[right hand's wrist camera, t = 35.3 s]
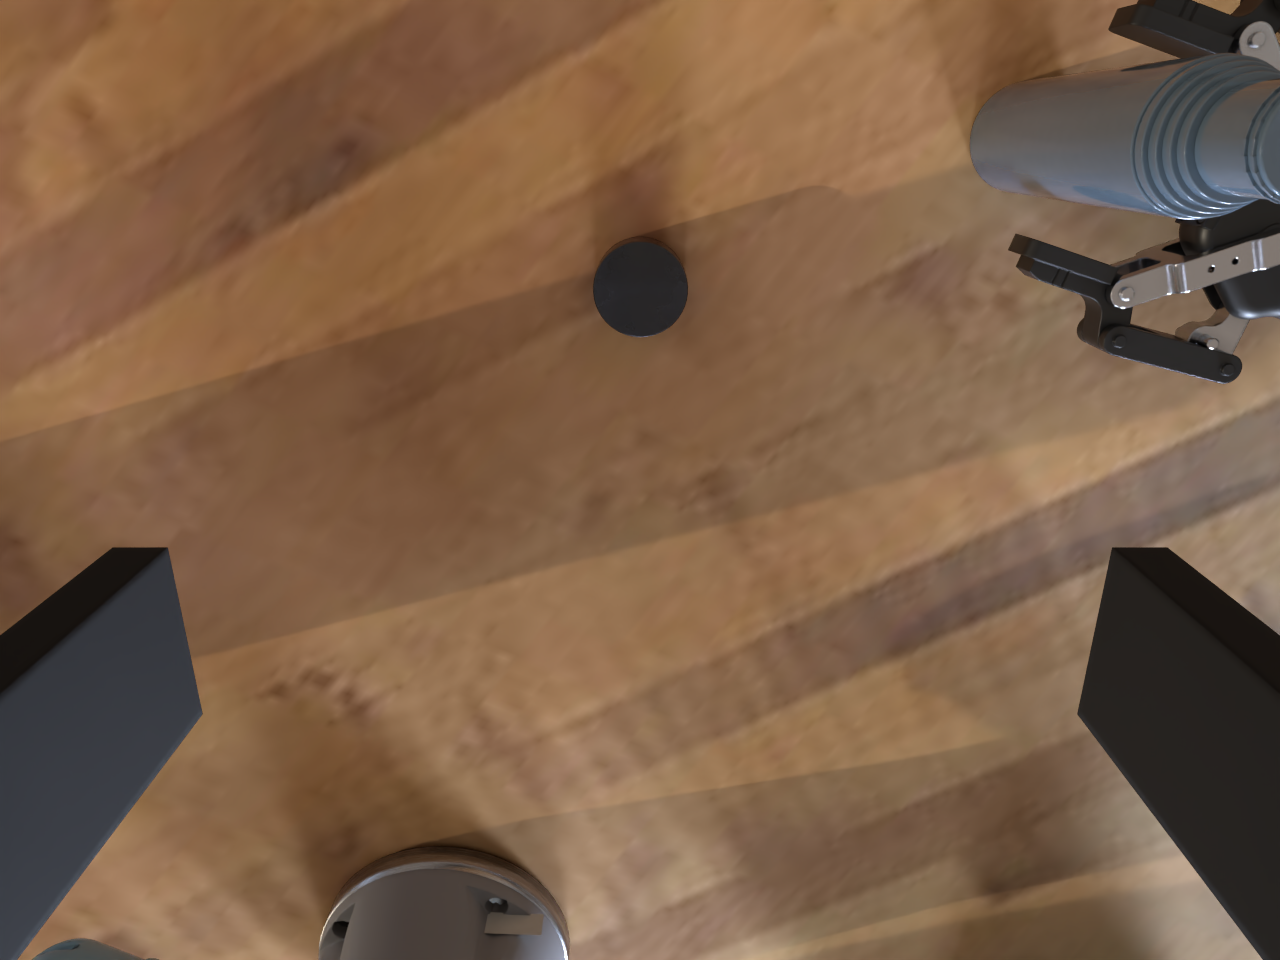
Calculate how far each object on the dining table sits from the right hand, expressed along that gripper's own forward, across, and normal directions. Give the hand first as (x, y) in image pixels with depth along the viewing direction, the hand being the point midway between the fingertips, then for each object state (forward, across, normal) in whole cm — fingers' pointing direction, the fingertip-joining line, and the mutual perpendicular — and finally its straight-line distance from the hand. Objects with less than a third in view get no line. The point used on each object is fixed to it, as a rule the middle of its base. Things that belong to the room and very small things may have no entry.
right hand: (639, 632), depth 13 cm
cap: (+30, 0, 0) cm, 30 cm away
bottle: (+32, +17, +6) cm, 36 cm away
